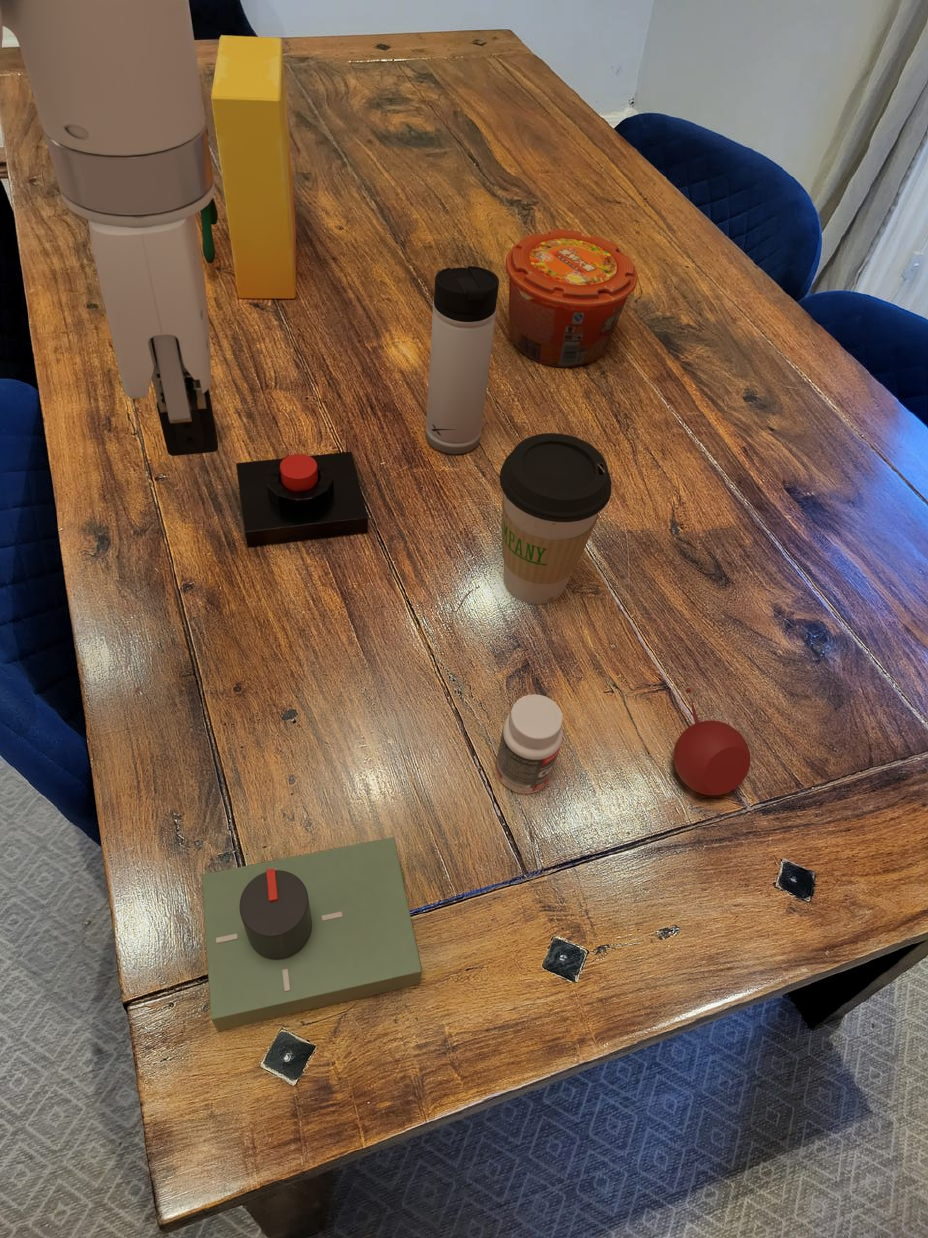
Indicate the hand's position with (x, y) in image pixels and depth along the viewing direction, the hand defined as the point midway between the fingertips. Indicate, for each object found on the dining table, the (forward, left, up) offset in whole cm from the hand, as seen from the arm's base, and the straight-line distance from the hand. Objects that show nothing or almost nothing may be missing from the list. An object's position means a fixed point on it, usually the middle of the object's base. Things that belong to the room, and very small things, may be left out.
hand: (193, 445), depth 58 cm
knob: (+1, -25, -22) cm, 33 cm away
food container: (+44, +44, -25) cm, 67 cm away
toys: (+7, +66, -25) cm, 71 cm away
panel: (+3, -25, -25) cm, 36 cm away
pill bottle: (+22, -15, -25) cm, 37 cm away
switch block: (+8, +19, -25) cm, 32 cm away
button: (+8, +19, -21) cm, 30 cm away
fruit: (+37, -17, -25) cm, 48 cm away
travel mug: (+26, +27, -25) cm, 45 cm away
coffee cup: (+29, +5, -25) cm, 39 cm away
